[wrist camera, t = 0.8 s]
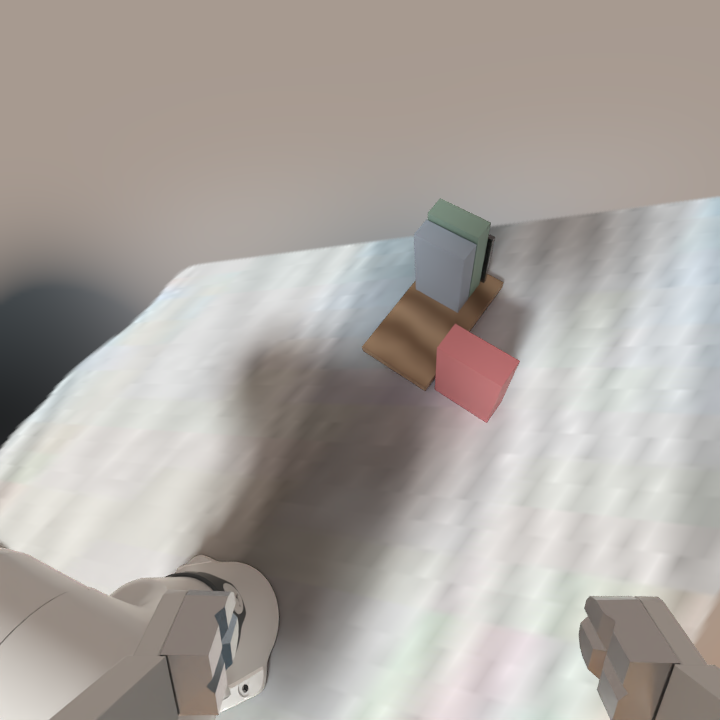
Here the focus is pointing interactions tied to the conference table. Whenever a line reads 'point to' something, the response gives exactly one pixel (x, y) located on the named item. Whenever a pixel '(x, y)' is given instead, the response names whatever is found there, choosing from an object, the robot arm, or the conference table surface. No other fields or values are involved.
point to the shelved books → (450, 254)
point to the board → (424, 330)
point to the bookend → (487, 258)
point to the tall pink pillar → (473, 372)
